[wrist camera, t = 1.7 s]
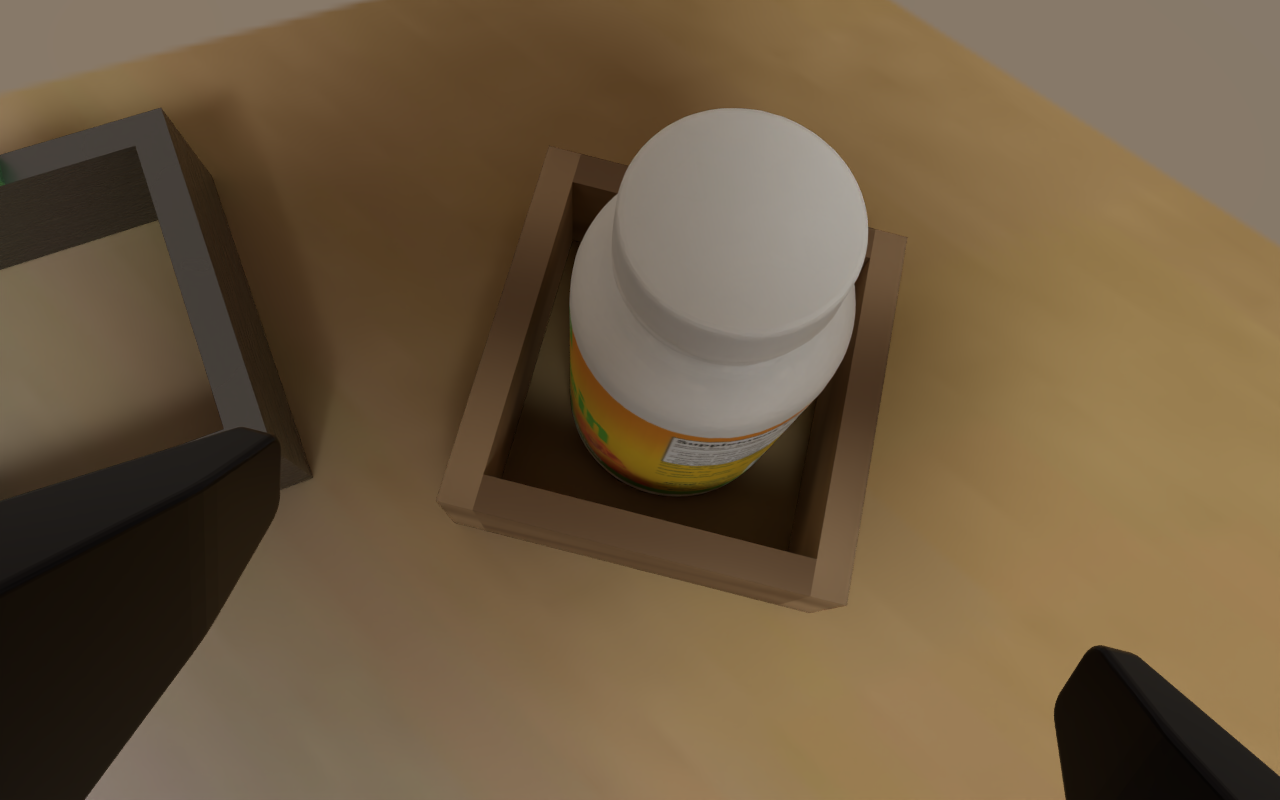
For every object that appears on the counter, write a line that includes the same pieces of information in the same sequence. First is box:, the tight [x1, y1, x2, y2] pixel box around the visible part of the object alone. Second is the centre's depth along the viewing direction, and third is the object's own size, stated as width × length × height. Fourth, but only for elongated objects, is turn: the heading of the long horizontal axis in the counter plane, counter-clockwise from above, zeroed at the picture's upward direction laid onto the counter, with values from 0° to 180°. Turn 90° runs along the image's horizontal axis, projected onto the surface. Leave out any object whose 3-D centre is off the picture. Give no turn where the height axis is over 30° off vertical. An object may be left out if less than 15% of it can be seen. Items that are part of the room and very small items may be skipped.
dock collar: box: [0, 108, 313, 490], centre depth 20 cm, size 9×9×4 cm
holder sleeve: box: [436, 146, 907, 613], centre depth 21 cm, size 9×9×3 cm
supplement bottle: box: [569, 108, 868, 497], centre depth 18 cm, size 5×5×10 cm
